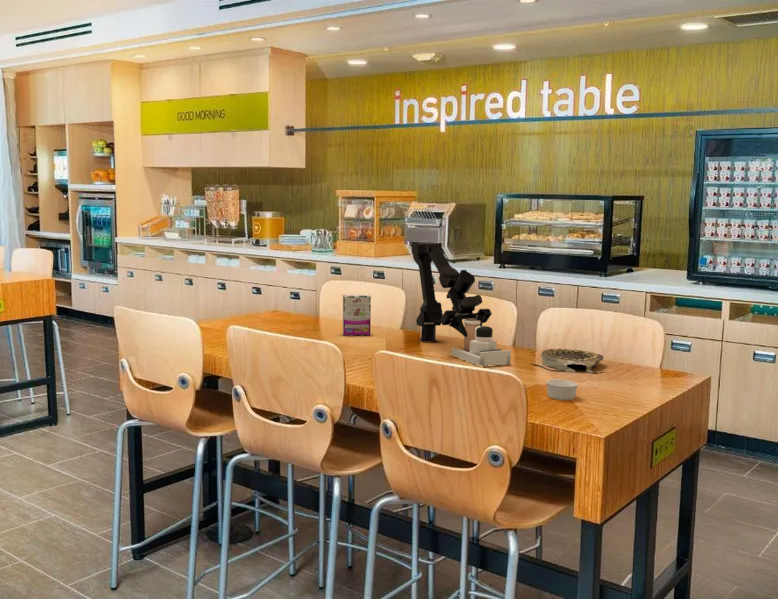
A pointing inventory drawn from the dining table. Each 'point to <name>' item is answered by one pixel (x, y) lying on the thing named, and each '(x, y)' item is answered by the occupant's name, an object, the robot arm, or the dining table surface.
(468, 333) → the spice jar
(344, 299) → the candy bar box
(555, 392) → the ramekin
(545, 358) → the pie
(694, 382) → the dining table surface
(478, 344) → the medicine bottle
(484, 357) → the lane
